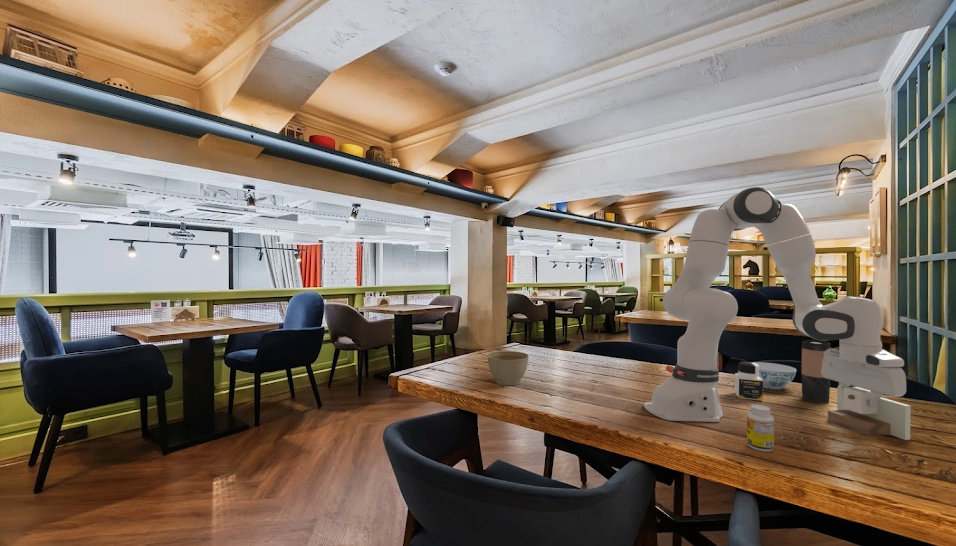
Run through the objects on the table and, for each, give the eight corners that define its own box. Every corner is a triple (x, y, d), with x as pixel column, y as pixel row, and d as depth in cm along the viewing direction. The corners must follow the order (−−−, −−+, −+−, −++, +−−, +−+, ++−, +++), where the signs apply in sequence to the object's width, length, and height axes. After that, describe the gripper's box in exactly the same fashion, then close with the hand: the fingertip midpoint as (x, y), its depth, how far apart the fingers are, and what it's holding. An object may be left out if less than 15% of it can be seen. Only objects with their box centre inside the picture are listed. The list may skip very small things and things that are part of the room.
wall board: (905, 440, 107) (905, 405, 107) (837, 415, 125) (837, 386, 125) (910, 439, 107) (910, 405, 107) (841, 415, 125) (841, 386, 125)
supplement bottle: (748, 441, 106) (748, 401, 106) (774, 447, 102) (775, 406, 102) (745, 448, 102) (745, 407, 101) (772, 454, 98) (773, 412, 98)
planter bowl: (489, 376, 169) (489, 350, 168) (528, 378, 166) (528, 351, 166) (484, 387, 153) (484, 358, 152) (528, 389, 150) (528, 360, 150)
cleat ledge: (867, 435, 109) (867, 424, 109) (827, 420, 120) (827, 410, 120) (890, 434, 110) (890, 423, 110) (848, 419, 121) (848, 409, 121)
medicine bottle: (738, 398, 141) (739, 363, 141) (734, 392, 148) (734, 359, 148) (763, 401, 138) (763, 365, 138) (757, 395, 145) (758, 361, 145)
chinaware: (748, 379, 166) (748, 360, 165) (795, 385, 157) (795, 365, 157) (746, 388, 153) (746, 367, 153) (797, 395, 145) (797, 373, 144)
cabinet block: (859, 414, 113) (859, 392, 113) (841, 408, 118) (841, 387, 118) (877, 413, 113) (877, 391, 113) (858, 407, 118) (858, 386, 118)
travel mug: (835, 404, 135) (836, 344, 135) (809, 403, 136) (810, 343, 136) (821, 397, 142) (821, 340, 142) (796, 396, 144) (797, 339, 144)
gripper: (815, 347, 125) (815, 391, 125) (890, 362, 105) (889, 415, 105) (833, 346, 126) (833, 391, 126) (911, 361, 106) (911, 414, 106)
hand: (859, 402), depth 115 cm, fingers closed on cabinet block, 5 cm apart
